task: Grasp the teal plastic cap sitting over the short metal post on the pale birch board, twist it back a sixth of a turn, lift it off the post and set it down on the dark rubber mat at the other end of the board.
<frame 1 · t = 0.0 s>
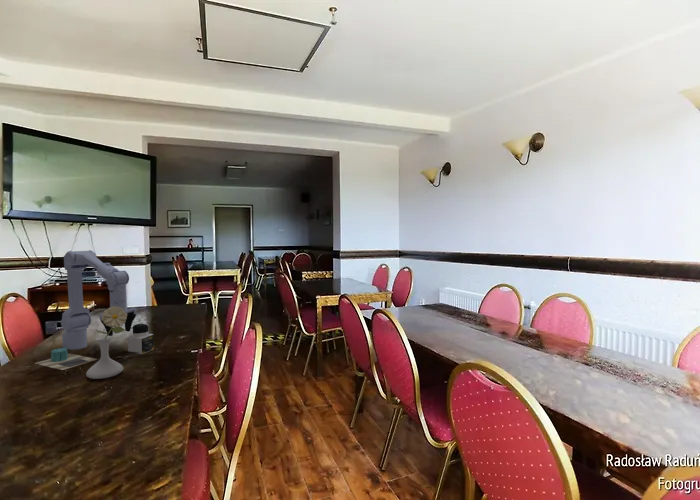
hand: (119, 333, 156), 10 cm above the table, tool pointing down, fingers open, 7 cm apart
flower in vase: (108, 375, 137), on the table
medicine bottle: (141, 352, 165), on the table
cap: (59, 359, 151), point 1 cm above the table, touching board
board: (66, 363, 149), on the table
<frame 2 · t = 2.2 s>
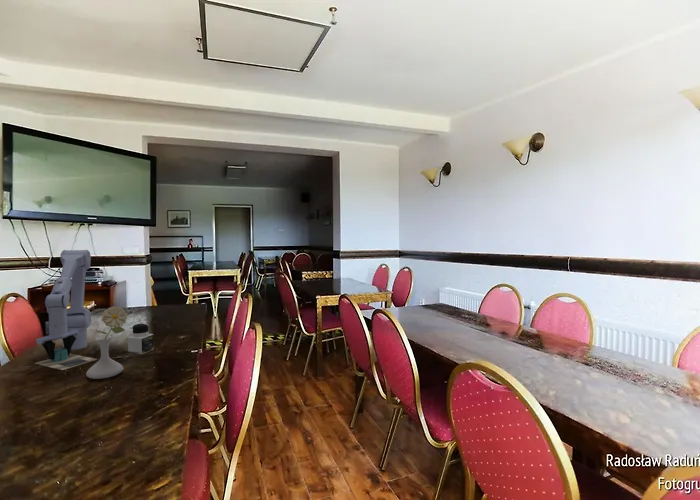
hand: (59, 357, 151), 2 cm above the table, tool pointing down, fingers closed on cap, 5 cm apart
cap: (59, 359, 151), point 1 cm above the table, touching board, gripper
everything else where it was.
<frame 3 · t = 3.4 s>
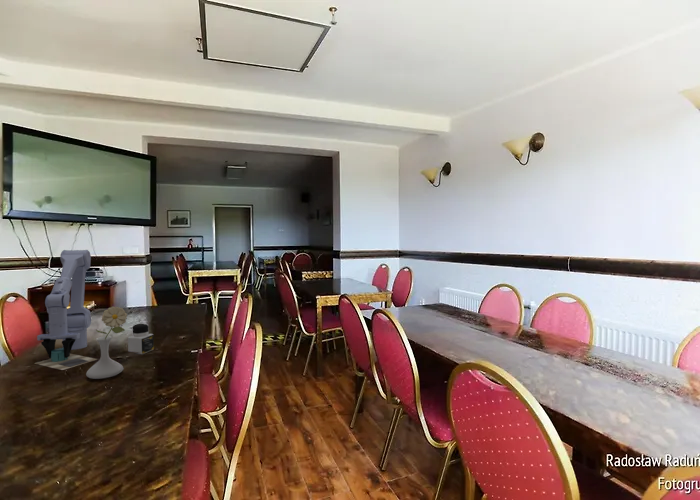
hand: (59, 357, 151), 2 cm above the table, tool pointing down, fingers closed on cap, 5 cm apart
cap: (59, 359, 151), point 1 cm above the table, touching gripper
everything else where it was.
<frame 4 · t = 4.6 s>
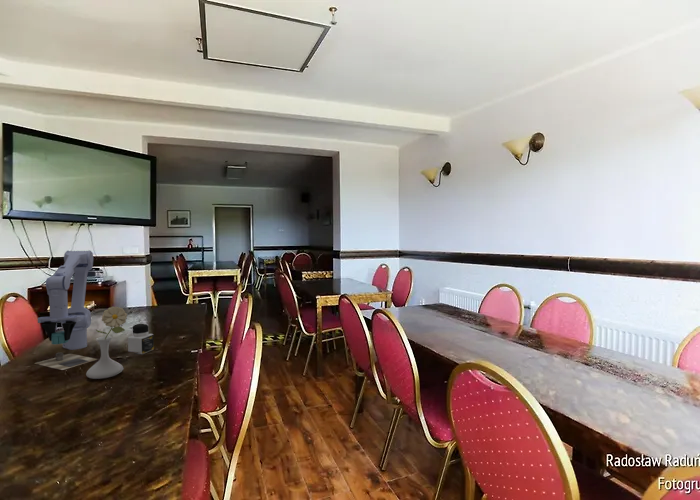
hand: (59, 340, 150), 9 cm above the table, tool pointing down, fingers closed on cap, 5 cm apart
cap: (59, 342, 150), point 8 cm above the table, touching gripper
everything else where it was.
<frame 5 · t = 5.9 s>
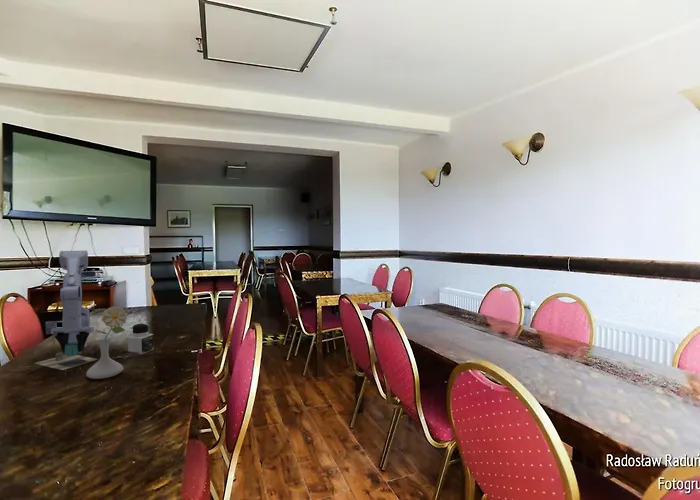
hand: (73, 351, 147), 5 cm above the table, tool pointing down, fingers closed on cap, 5 cm apart
cap: (73, 353, 147), point 5 cm above the table, touching gripper
everything else where it was.
when the fingers open (4 cm above the table, at t = 6.9 s): cap drops 1 cm, resting on board.
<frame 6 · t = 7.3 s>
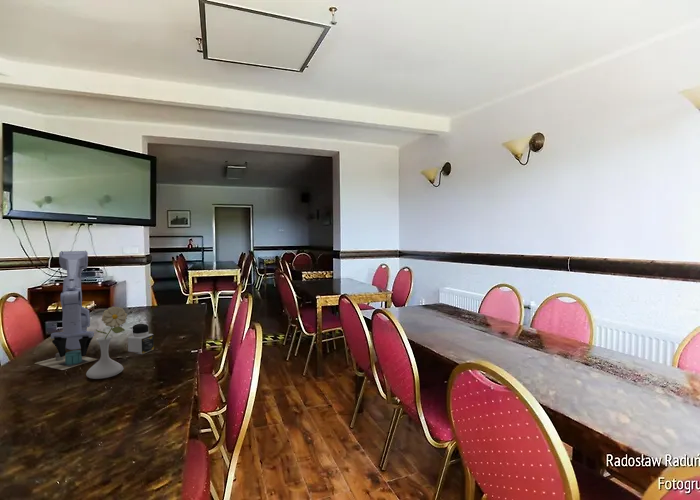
hand: (73, 355, 147), 4 cm above the table, tool pointing down, fingers open, 7 cm apart
cap: (73, 362, 147), point 1 cm above the table, touching board
everything else where it was.
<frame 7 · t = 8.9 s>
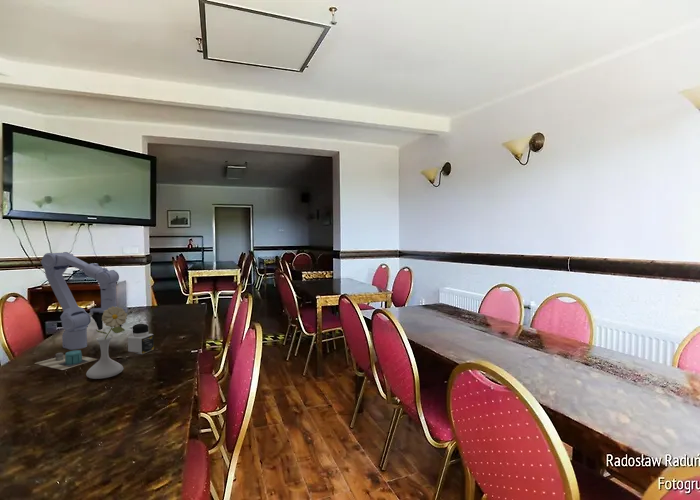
hand: (109, 329, 166), 9 cm above the table, tool pointing down, fingers open, 7 cm apart
nothing on the table moved.
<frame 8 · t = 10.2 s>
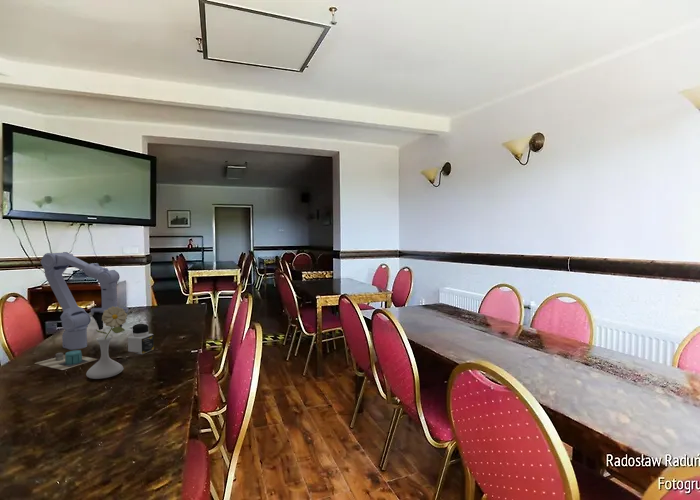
hand: (110, 329, 166), 9 cm above the table, tool pointing down, fingers open, 7 cm apart
nothing on the table moved.
at the end: cap 0.1 cm from the target spot on the board, point 1.2 cm above the board's base; cap tilted 0°; the gripper is holding nothing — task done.
